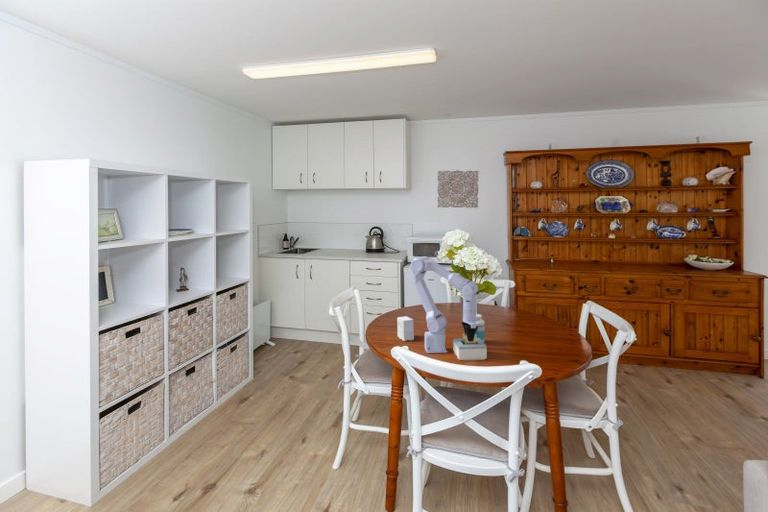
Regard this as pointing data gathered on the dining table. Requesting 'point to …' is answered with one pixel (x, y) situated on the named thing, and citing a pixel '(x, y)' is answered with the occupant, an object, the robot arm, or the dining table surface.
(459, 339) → the money box
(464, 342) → the tan green block
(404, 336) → the small box
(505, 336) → the dining table surface
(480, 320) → the pill bottle
